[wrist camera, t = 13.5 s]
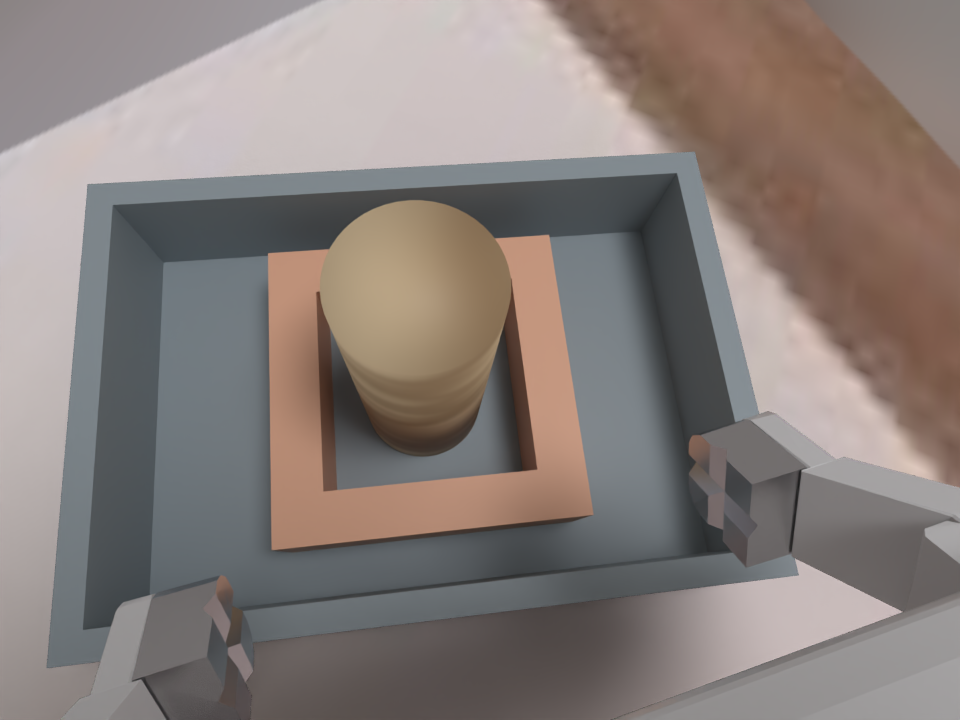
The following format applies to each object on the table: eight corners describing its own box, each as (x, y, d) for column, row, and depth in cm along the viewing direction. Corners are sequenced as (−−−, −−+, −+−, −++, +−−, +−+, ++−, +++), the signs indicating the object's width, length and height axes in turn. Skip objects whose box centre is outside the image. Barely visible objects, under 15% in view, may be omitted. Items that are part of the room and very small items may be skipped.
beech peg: (370, 462, 22) (323, 383, 13) (364, 352, 23) (316, 205, 14) (485, 450, 23) (522, 365, 13) (472, 343, 24) (499, 194, 14)
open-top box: (134, 645, 21) (46, 668, 16) (153, 257, 25) (87, 184, 20) (722, 573, 23) (798, 575, 18) (648, 224, 27) (694, 152, 22)
